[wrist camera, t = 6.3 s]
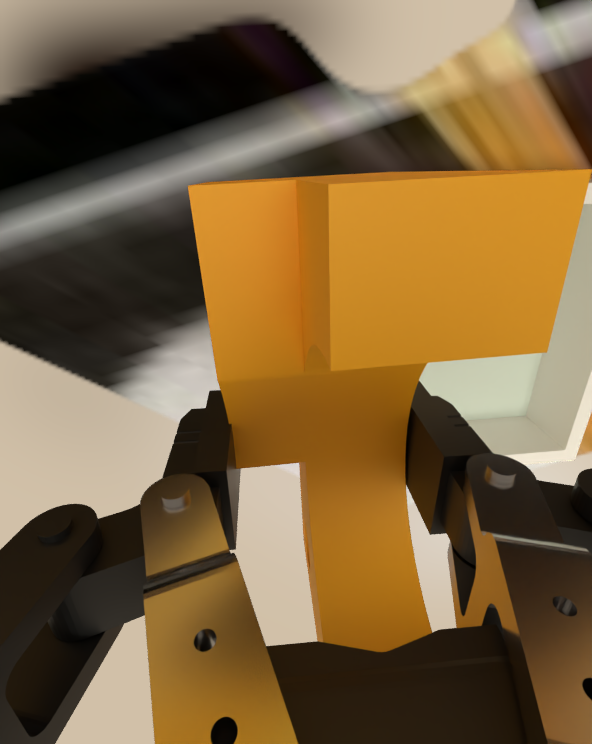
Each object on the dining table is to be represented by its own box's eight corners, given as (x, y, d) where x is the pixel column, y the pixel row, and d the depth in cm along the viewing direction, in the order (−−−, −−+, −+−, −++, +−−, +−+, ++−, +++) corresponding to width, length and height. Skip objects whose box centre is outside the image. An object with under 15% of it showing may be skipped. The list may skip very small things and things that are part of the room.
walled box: (591, 179, 26) (672, 180, 21) (527, 418, 34) (574, 460, 29) (344, 186, 24) (368, 189, 20) (337, 433, 32) (353, 479, 27)
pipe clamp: (207, 182, 9) (135, 194, 4) (390, 172, 10) (591, 170, 4) (256, 545, 15) (257, 784, 9) (372, 532, 15) (448, 756, 9)
